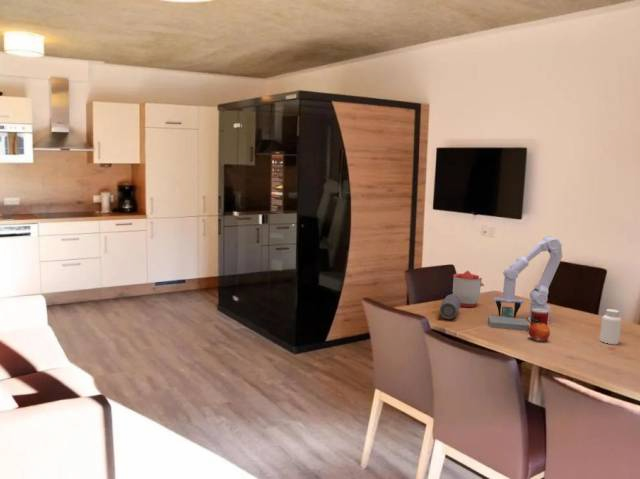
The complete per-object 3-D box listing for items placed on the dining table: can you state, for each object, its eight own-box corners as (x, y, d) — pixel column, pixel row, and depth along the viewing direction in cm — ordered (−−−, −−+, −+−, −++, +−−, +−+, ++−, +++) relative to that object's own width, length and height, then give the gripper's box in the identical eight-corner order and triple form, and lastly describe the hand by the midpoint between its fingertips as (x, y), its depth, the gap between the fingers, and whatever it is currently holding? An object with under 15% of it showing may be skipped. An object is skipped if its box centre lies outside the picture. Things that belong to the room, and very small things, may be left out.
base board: (524, 323, 285) (525, 318, 285) (528, 330, 272) (529, 325, 272) (487, 320, 288) (488, 315, 288) (490, 327, 276) (490, 322, 275)
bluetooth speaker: (457, 322, 282) (458, 303, 281) (438, 320, 285) (439, 300, 284) (460, 312, 304) (462, 294, 303) (443, 310, 307) (444, 292, 306)
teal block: (511, 318, 295) (512, 307, 294) (512, 320, 290) (513, 309, 289) (501, 317, 296) (502, 306, 295) (502, 319, 291) (503, 308, 290)
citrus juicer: (485, 309, 312) (488, 273, 310) (454, 308, 312) (457, 272, 310) (478, 302, 328) (481, 268, 325) (448, 301, 328) (450, 267, 325)
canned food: (546, 331, 273) (548, 309, 271) (547, 335, 265) (549, 312, 264) (529, 329, 275) (531, 307, 274) (529, 333, 268) (531, 310, 266)
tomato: (551, 343, 252) (552, 326, 251) (529, 341, 254) (531, 324, 253) (547, 337, 261) (548, 321, 260) (526, 335, 263) (527, 319, 262)
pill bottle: (618, 346, 253) (621, 313, 251) (598, 342, 257) (601, 310, 255) (619, 341, 260) (623, 310, 258) (600, 338, 264) (603, 307, 262)
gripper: (495, 291, 288) (493, 316, 290) (525, 293, 286) (522, 319, 287) (493, 288, 295) (491, 313, 297) (522, 290, 292) (520, 316, 294)
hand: (506, 316), depth 293 cm, fingers open, 7 cm apart
